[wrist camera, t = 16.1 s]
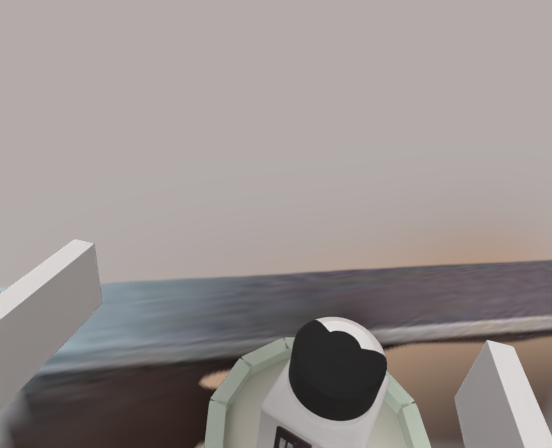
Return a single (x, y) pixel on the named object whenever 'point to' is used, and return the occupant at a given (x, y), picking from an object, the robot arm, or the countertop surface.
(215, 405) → the round tray
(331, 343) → the container
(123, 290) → the countertop surface
